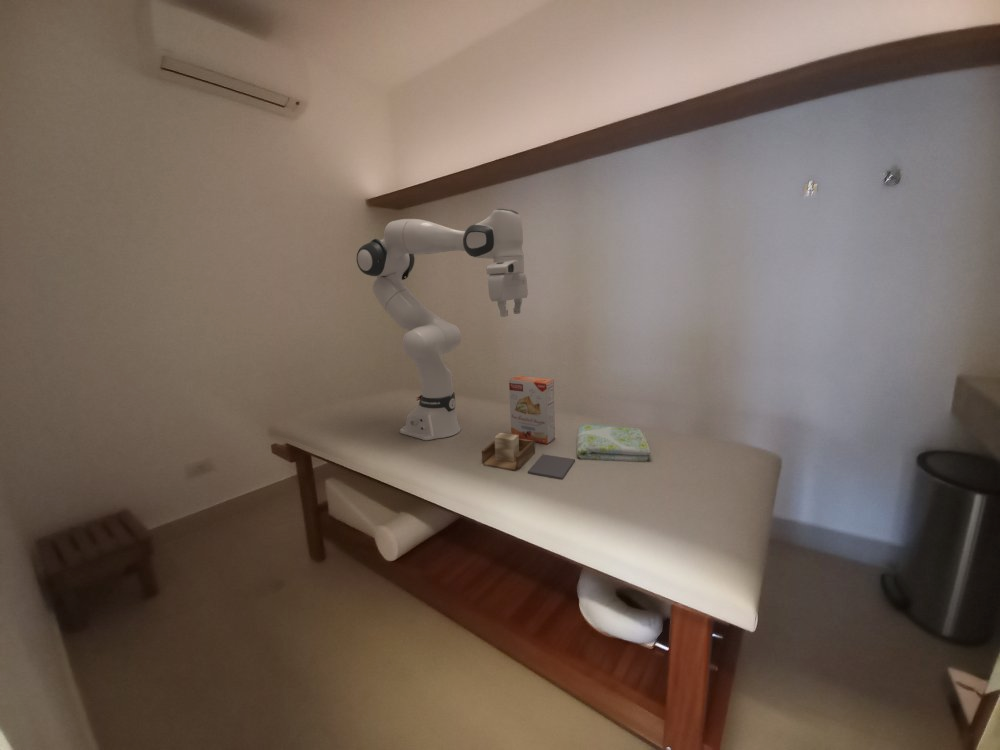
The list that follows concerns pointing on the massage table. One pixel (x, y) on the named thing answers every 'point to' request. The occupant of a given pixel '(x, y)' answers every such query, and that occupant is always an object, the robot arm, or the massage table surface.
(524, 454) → the shelf bay
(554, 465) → the mat
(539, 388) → the cracker box
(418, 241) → the robot arm
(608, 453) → the towel
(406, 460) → the massage table surface
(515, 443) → the block
